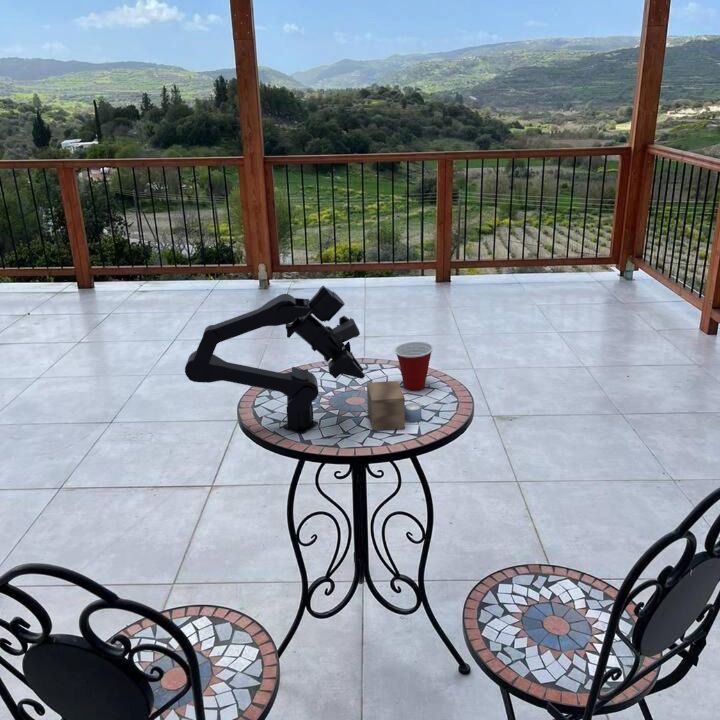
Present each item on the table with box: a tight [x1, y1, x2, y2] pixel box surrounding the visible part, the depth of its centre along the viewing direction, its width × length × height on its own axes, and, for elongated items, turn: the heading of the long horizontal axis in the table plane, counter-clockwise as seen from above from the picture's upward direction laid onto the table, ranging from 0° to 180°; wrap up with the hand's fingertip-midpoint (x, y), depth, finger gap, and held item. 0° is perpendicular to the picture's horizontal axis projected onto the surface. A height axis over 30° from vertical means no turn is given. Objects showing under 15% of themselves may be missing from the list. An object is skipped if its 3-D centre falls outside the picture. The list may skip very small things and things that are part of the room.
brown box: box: [366, 380, 406, 431], centre depth 171 cm, size 8×11×8 cm
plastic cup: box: [393, 341, 434, 392], centre depth 190 cm, size 11×11×12 cm
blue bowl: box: [405, 403, 423, 423], centre depth 173 cm, size 4×4×3 cm
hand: (362, 374), depth 167 cm, fingers open, 4 cm apart
